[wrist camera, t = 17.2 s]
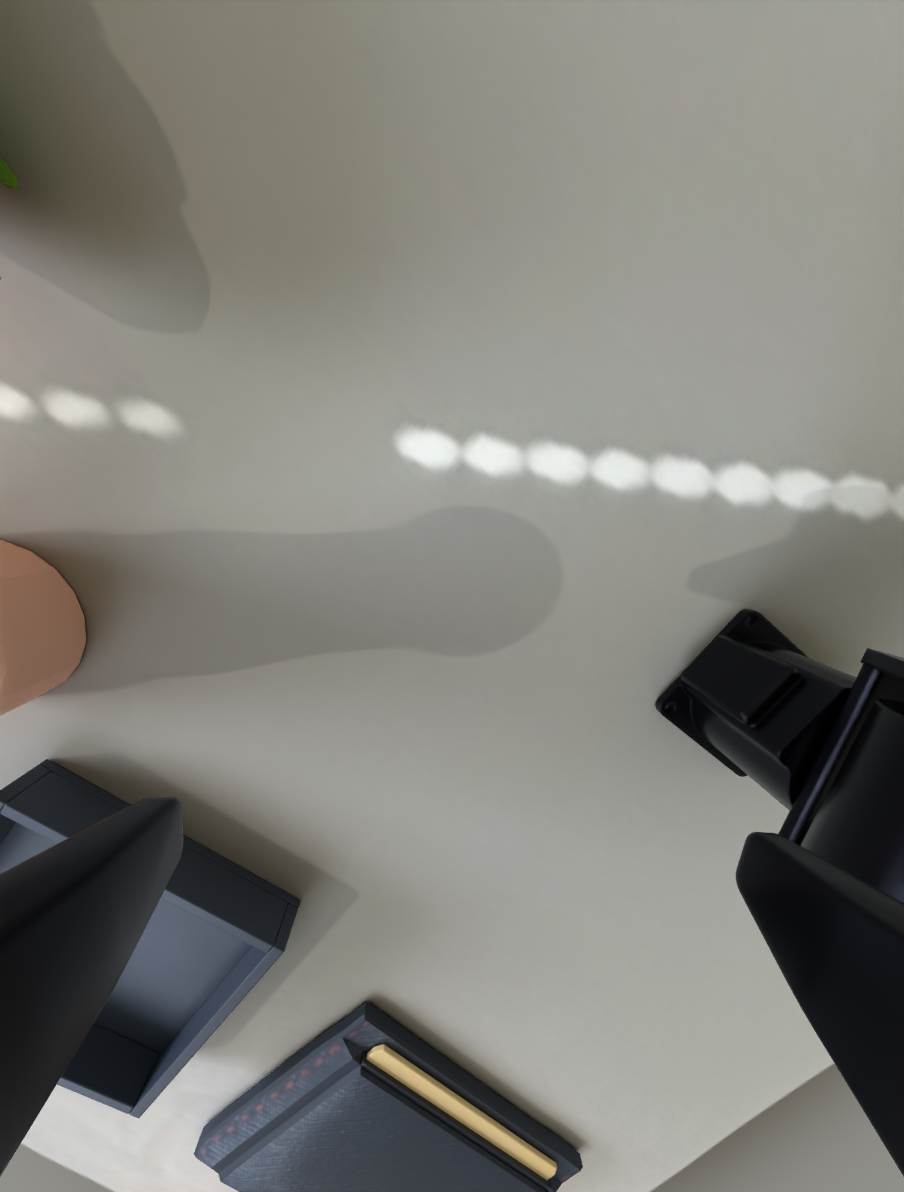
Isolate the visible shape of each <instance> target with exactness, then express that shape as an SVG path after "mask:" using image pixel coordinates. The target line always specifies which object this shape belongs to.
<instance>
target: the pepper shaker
mask: <svg viewBox="0 0 904 1192" xmlns="http://www.w3.org/2000/svg"><path fill="white" fill-rule="evenodd" d="M85 644H86V631H85V617H84V614H83V612H82V610H81V607H80V605H79V602H78V600H77V598H76V595H75V593H74V591H73V590H72V589H71V587H70V586H69V585H68V584H67V583H66V581H65V580H64V579H63V578H62V576H61V575H60V574H59V573H58V571H57V570H56V569H55V568H53V567H52V566H51V565H49V564H48V563H46V562H45V561H44V560H42V559H41V558H40V557H38V556H37V555H35V554H34V553H33V552H31V551H29V550H26V549H24V548H21V547H19V546H16V545H14V544H11V543H8V542H6V541H3V540H0V715H2V714H4V713H6V712H8V711H10V710H12V709H14V708H16V707H19V706H21V705H23V704H25V703H27V702H29V701H31V700H33V699H35V698H37V697H39V696H41V695H43V694H45V693H47V692H48V691H50V690H52V689H53V688H55V687H57V686H58V685H60V684H62V683H64V682H65V681H66V680H67V679H68V678H69V676H70V675H71V674H72V673H73V671H74V670H75V669H76V668H77V666H78V665H79V664H80V661H81V657H82V654H83V651H84V647H85Z"/></svg>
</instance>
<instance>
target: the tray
mask: <svg viewBox="0 0 904 1192" xmlns="http://www.w3.org/2000/svg"><path fill="white" fill-rule="evenodd" d="M129 806H130V805H128V804H127V803H125V802H123V801H121V800H119V799H118V798H116V797H114V796H112V795H110V794H109V793H107V792H105V791H103V790H102V789H100V788H98V787H96V786H94V785H93V784H91V783H89V782H87V781H85V780H84V779H82V778H80V777H78V776H77V775H75V774H73V773H71V772H69V771H68V770H66V769H64V768H62V767H60V766H59V765H57V764H55V763H53V762H51V761H50V760H48V759H46V760H45V761H43V762H42V763H40V764H39V765H37V766H36V767H34V768H33V769H31V770H30V771H28V772H27V773H25V774H24V775H22V776H21V777H19V778H18V779H16V780H15V781H13V782H12V783H11V784H9V785H8V786H6V787H5V788H3V789H2V790H0V873H2V872H4V871H6V870H8V869H10V868H12V867H14V866H16V865H18V864H20V863H22V862H24V861H25V860H27V859H29V858H31V857H33V856H35V855H37V854H39V853H41V852H43V851H45V850H47V849H49V848H50V847H52V846H54V845H56V844H58V843H60V842H62V841H64V840H66V839H68V838H70V837H72V836H74V835H75V834H77V833H79V832H81V831H83V830H85V829H87V828H89V827H91V826H93V825H95V824H97V823H99V822H100V821H102V820H104V819H106V818H108V817H110V816H112V815H114V814H116V813H118V812H120V811H122V810H123V809H125V808H127V807H129ZM299 905H300V900H298V899H296V898H295V897H293V896H291V895H289V894H287V893H286V892H284V891H282V890H280V889H278V888H277V887H275V886H273V885H271V884H270V883H268V882H266V881H264V880H262V879H261V878H259V877H257V876H255V875H253V874H252V873H250V872H248V871H246V870H245V869H243V868H241V867H239V866H237V865H236V864H234V863H232V862H230V861H228V860H227V859H225V858H223V857H221V856H220V855H218V854H216V853H214V852H212V851H211V850H209V849H207V848H205V847H203V846H202V845H200V844H198V843H196V842H194V841H193V840H191V839H189V838H187V837H186V836H184V835H183V850H182V854H181V857H180V860H179V862H178V864H177V866H176V868H175V870H174V872H173V874H172V876H171V878H170V880H169V882H168V884H167V886H166V888H165V890H164V892H163V894H162V896H161V898H160V900H159V902H158V904H157V906H156V908H155V910H154V912H153V914H152V916H151V918H150V920H149V922H148V924H147V926H146V928H145V930H144V932H143V934H142V936H141V938H140V940H139V942H138V944H137V946H136V948H135V950H134V952H133V954H132V956H131V957H130V959H129V961H128V963H127V965H126V967H125V969H124V971H123V973H122V975H121V977H120V979H119V980H118V982H117V984H116V986H115V988H114V990H113V991H112V993H111V995H110V997H109V998H108V1000H107V1002H106V1003H105V1005H104V1007H103V1009H102V1010H101V1012H100V1014H99V1015H98V1017H97V1019H96V1020H95V1022H94V1023H93V1025H92V1027H91V1028H90V1030H89V1032H88V1033H87V1035H86V1037H85V1038H84V1040H83V1042H82V1043H81V1045H80V1046H79V1048H78V1050H77V1051H76V1053H75V1055H74V1056H73V1058H72V1060H71V1061H70V1063H69V1065H68V1066H67V1068H66V1070H65V1071H64V1073H63V1074H62V1076H61V1078H60V1079H59V1081H58V1083H57V1085H60V1086H62V1087H65V1088H67V1089H69V1090H72V1091H74V1092H77V1093H79V1094H81V1095H84V1096H86V1097H89V1098H91V1099H93V1100H96V1101H98V1102H101V1103H103V1104H105V1105H108V1106H110V1107H113V1108H115V1109H117V1110H120V1111H122V1112H124V1113H127V1114H128V1113H129V1112H130V1113H129V1114H130V1115H132V1116H134V1117H136V1118H140V1116H141V1115H142V1114H143V1113H144V1112H145V1111H146V1110H147V1108H148V1107H149V1106H150V1105H151V1104H152V1103H153V1102H154V1100H155V1099H156V1098H157V1097H158V1096H159V1095H160V1093H161V1092H162V1091H163V1090H164V1089H165V1088H166V1087H167V1085H168V1084H169V1083H170V1082H171V1081H172V1080H173V1079H174V1077H175V1076H176V1075H177V1074H178V1073H179V1072H180V1070H181V1069H182V1068H183V1067H184V1066H185V1065H186V1064H187V1062H188V1061H189V1060H190V1059H191V1058H192V1057H193V1056H194V1054H195V1053H196V1052H197V1051H198V1050H199V1049H200V1047H201V1046H202V1045H203V1044H204V1043H205V1042H206V1041H207V1039H208V1038H209V1037H210V1036H211V1035H212V1034H213V1033H214V1031H215V1030H216V1029H217V1028H218V1027H219V1026H220V1025H221V1023H222V1022H223V1021H224V1020H225V1019H226V1018H227V1016H228V1015H229V1014H230V1013H231V1012H232V1011H233V1010H234V1008H235V1007H236V1006H237V1005H238V1004H239V1003H240V1002H241V1000H242V999H243V998H244V997H245V996H246V995H247V993H248V992H249V991H250V990H251V989H252V988H253V987H254V985H255V984H256V983H257V982H258V981H259V980H260V979H261V977H262V976H263V975H264V974H265V973H266V972H267V971H268V969H269V968H270V967H271V966H272V965H273V964H274V962H275V961H276V960H277V959H278V958H279V957H280V956H281V954H282V953H283V952H284V950H285V947H286V944H287V941H288V938H289V935H290V932H291V929H292V926H293V923H294V920H295V916H296V913H297V910H298V908H299Z"/></svg>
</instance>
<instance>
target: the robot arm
mask: <svg viewBox="0 0 904 1192" xmlns="http://www.w3.org/2000/svg"><path fill="white" fill-rule="evenodd" d="M750 616H751V620H750V622H749V623H747V619H748V618H749V617H750ZM861 663H863V666H862V668H861V670H860V672H859V674H858V676H857V678H856V677H854V676H851V675H849V674H846V673H844V672H841V671H839V670H837V669H834V668H832V667H829V666H827V665H824V664H822V663H819V662H817V661H814V660H812V659H810V658H808V657H807V656H806V655H805V654H804V653H803V652H802V651H801V650H800V649H799V648H797V647H796V646H795V645H794V644H793V643H792V642H791V641H790V640H789V639H788V638H786V637H785V636H784V635H783V634H782V633H781V632H780V631H779V630H778V629H777V628H776V627H774V626H773V625H772V624H771V623H770V622H769V621H768V620H767V619H766V618H765V617H763V616H762V615H761V614H760V613H759V612H757V611H754V610H751V609H744V610H741V611H740V612H739V613H738V614H737V615H736V616H735V617H734V618H733V619H732V620H731V621H730V622H729V623H728V625H727V626H726V627H725V628H724V629H723V630H722V631H721V632H720V633H719V634H718V635H717V636H716V637H715V638H714V639H713V640H712V642H711V643H710V644H709V645H708V646H707V647H706V648H705V649H704V650H703V651H702V652H701V653H700V654H699V655H698V656H697V658H696V659H695V660H694V661H693V662H692V663H691V664H690V665H689V666H688V667H687V668H686V669H685V670H684V671H683V672H682V674H681V675H680V676H679V677H678V678H677V679H676V680H675V681H674V682H673V683H672V684H671V685H670V686H669V687H668V688H667V689H666V691H665V692H664V693H663V694H662V695H661V696H660V697H659V698H658V699H657V701H656V705H655V706H656V709H657V710H658V712H660V713H661V714H662V715H663V716H664V717H665V718H667V719H668V720H669V721H670V722H672V723H673V724H674V725H675V726H677V727H678V728H679V729H680V730H682V731H683V732H684V733H686V734H687V735H688V736H689V737H691V738H692V739H693V740H694V741H696V742H697V743H698V744H699V745H701V746H702V747H703V748H704V749H706V750H707V751H708V752H709V753H711V754H712V755H713V756H714V757H716V758H717V759H718V760H719V761H721V762H722V763H723V764H724V765H726V766H727V767H728V768H729V769H731V770H732V771H733V772H734V773H736V774H737V775H739V776H747V775H748V776H749V777H751V778H752V779H753V780H754V781H755V782H757V783H758V784H759V785H760V786H761V787H762V788H764V789H765V790H766V791H767V792H768V793H769V794H771V795H772V796H773V797H774V798H775V799H776V800H778V801H779V802H780V803H781V804H782V805H783V806H785V807H786V808H787V809H788V810H789V811H790V812H789V814H788V816H787V818H786V820H785V822H784V824H783V826H782V828H781V830H780V832H779V834H775V833H763V832H753V833H751V834H750V835H748V837H747V838H746V841H745V844H744V847H743V850H742V854H741V857H740V860H739V863H738V867H737V870H736V882H737V886H738V889H739V891H740V893H741V895H742V897H743V899H744V901H745V903H746V904H747V906H748V908H749V910H750V912H751V914H752V916H753V918H754V920H755V922H756V923H757V925H758V927H759V929H760V931H761V933H762V935H763V937H764V939H765V941H766V943H767V944H768V946H769V948H770V950H771V952H772V954H773V956H774V958H775V960H776V962H777V964H778V965H779V967H780V969H781V971H782V973H783V975H784V977H785V979H786V981H787V983H788V985H789V986H790V988H791V990H792V992H793V994H794V996H795V997H796V999H797V1001H798V1003H799V1005H800V1006H801V1008H802V1010H803V1012H804V1013H805V1015H806V1017H807V1018H808V1020H809V1022H810V1023H811V1025H812V1027H813V1029H814V1030H815V1032H816V1033H817V1035H818V1037H819V1038H820V1040H821V1042H822V1043H823V1045H824V1047H825V1048H826V1050H827V1051H828V1053H829V1055H830V1056H831V1058H832V1060H833V1061H834V1063H835V1065H836V1066H837V1068H838V1070H839V1071H840V1072H841V1074H842V1076H843V1078H844V1079H845V1081H846V1083H847V1084H848V1086H849V1088H850V1089H851V1091H852V1092H853V1094H854V1096H855V1097H856V1099H857V1101H858V1102H859V1104H860V1106H861V1107H862V1109H863V1110H864V1112H865V1114H866V1115H867V1117H868V1119H869V1120H870V1122H871V1124H872V1125H873V1127H874V1129H875V1130H876V1132H877V1133H878V1135H879V1137H880V1138H881V1140H882V1142H883V1143H884V1145H885V1147H886V1148H887V1150H888V1151H889V1153H890V1155H891V1156H892V1158H893V1160H894V1161H895V1163H896V1164H897V1166H898V1168H899V1169H900V1171H901V1173H902V1174H903V1176H904V658H902V657H898V656H894V655H891V654H887V653H883V652H880V651H876V650H873V649H869V648H867V650H866V652H865V654H864V656H863V658H862V660H861ZM668 703H670V706H669V707H668V708H666V709H665V706H666V705H667V704H668ZM182 850H183V807H182V803H181V800H180V799H178V798H176V797H165V796H150V797H147V798H145V799H143V800H141V801H139V802H137V803H135V804H133V805H131V806H129V807H127V808H125V809H123V810H122V811H120V812H118V813H116V814H114V815H112V816H110V817H108V818H106V819H104V820H102V821H100V822H99V823H97V824H95V825H93V826H91V827H89V828H87V829H85V830H83V831H81V832H79V833H77V834H75V835H74V836H72V837H70V838H68V839H66V840H64V841H62V842H60V843H58V844H56V845H54V846H52V847H50V848H49V849H47V850H45V851H43V852H41V853H39V854H37V855H35V856H33V857H31V858H29V859H27V860H25V861H24V862H22V863H20V864H18V865H16V866H14V867H12V868H10V869H8V870H6V871H4V872H2V873H0V1176H1V1175H2V1173H3V1171H4V1170H5V1168H6V1167H7V1165H8V1163H9V1161H10V1160H11V1158H12V1157H13V1155H14V1153H15V1152H16V1150H17V1148H18V1147H19V1145H20V1144H21V1142H22V1140H23V1139H24V1137H25V1135H26V1134H27V1132H28V1130H29V1129H30V1127H31V1125H32V1124H33V1122H34V1121H35V1119H36V1117H37V1116H38V1114H39V1112H40V1111H41V1109H42V1107H43V1106H44V1104H45V1102H46V1101H47V1099H48V1097H49V1096H50V1094H51V1093H52V1091H53V1089H54V1088H55V1086H56V1084H57V1083H58V1081H59V1079H60V1078H61V1076H62V1074H63V1073H64V1071H65V1070H66V1068H67V1066H68V1065H69V1063H70V1061H71V1060H72V1058H73V1056H74V1055H75V1053H76V1051H77V1050H78V1048H79V1046H80V1045H81V1043H82V1042H83V1040H84V1038H85V1037H86V1035H87V1033H88V1032H89V1030H90V1028H91V1027H92V1025H93V1023H94V1022H95V1020H96V1019H97V1017H98V1015H99V1014H100V1012H101V1010H102V1009H103V1007H104V1005H105V1003H106V1002H107V1000H108V998H109V997H110V995H111V993H112V991H113V990H114V988H115V986H116V984H117V982H118V980H119V979H120V977H121V975H122V973H123V971H124V969H125V967H126V965H127V963H128V961H129V959H130V957H131V956H132V954H133V952H134V950H135V948H136V946H137V944H138V942H139V940H140V938H141V936H142V934H143V932H144V930H145V928H146V926H147V924H148V922H149V920H150V918H151V916H152V914H153V912H154V910H155V908H156V906H157V904H158V902H159V900H160V898H161V896H162V894H163V892H164V890H165V888H166V886H167V884H168V882H169V880H170V878H171V876H172V874H173V872H174V870H175V868H176V866H177V864H178V862H179V860H180V857H181V854H182Z"/></svg>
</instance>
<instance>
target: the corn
mask: <svg viewBox="0 0 904 1192" xmlns="http://www.w3.org/2000/svg"><path fill="white" fill-rule="evenodd" d="M0 180H1V181H2V182H3V183H4V184H5V185H7V186H8V187H12V188H18V179H17V178H16V176H15V175H14V173H13V172H12V171H11V169H10V168H9V166H8V165H7V164H6V162H5V161H4V160H3V158H2V157H1V156H0ZM0 279H1V278H0Z"/></svg>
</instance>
